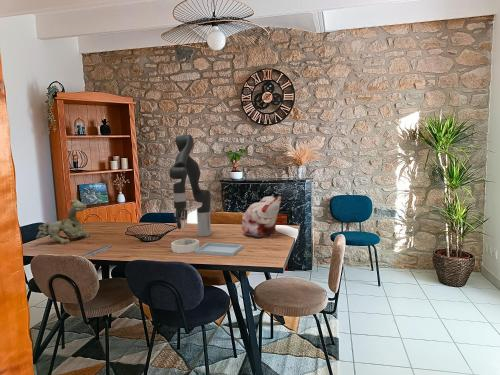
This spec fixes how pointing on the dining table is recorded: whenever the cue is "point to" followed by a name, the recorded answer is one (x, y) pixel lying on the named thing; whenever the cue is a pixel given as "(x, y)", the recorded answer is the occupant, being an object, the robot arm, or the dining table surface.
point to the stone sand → (182, 223)
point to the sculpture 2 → (261, 217)
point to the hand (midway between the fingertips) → (181, 227)
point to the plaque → (97, 251)
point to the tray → (219, 249)
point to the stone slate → (188, 242)
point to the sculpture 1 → (65, 226)
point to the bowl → (184, 246)
